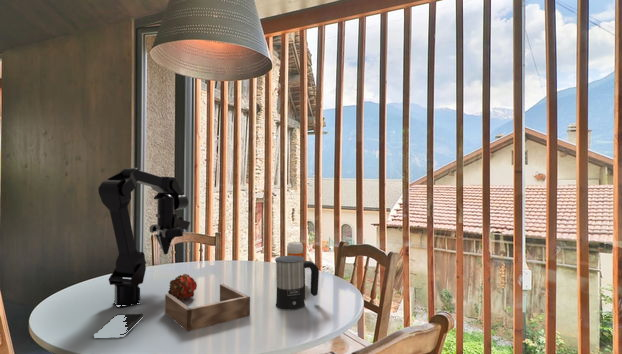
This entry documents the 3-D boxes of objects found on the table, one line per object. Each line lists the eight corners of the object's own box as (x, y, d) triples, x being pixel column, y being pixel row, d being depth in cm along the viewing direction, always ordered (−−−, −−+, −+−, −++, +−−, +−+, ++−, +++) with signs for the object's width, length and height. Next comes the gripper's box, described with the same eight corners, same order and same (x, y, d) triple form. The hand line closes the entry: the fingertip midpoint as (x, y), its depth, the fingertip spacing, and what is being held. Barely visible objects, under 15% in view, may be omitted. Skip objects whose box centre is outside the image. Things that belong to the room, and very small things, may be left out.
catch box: (187, 331, 100) (187, 310, 100) (165, 313, 114) (165, 294, 114) (249, 315, 112) (250, 296, 112) (223, 300, 125) (223, 283, 125)
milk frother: (285, 313, 114) (285, 262, 114) (259, 299, 127) (259, 254, 127) (323, 304, 123) (323, 257, 123) (295, 291, 135) (295, 249, 135)
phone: (91, 336, 95) (116, 314, 110) (91, 340, 95) (116, 318, 110) (124, 334, 96) (144, 313, 111) (124, 339, 96) (144, 317, 111)
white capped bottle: (302, 285, 144) (302, 244, 144) (286, 285, 144) (286, 244, 144) (303, 280, 150) (303, 241, 150) (287, 280, 150) (287, 241, 150)
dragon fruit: (177, 309, 121) (182, 303, 133) (200, 292, 123) (203, 287, 135) (160, 288, 121) (167, 283, 133) (184, 270, 123) (189, 267, 135)
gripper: (197, 211, 139) (197, 255, 139) (178, 208, 154) (178, 248, 154) (165, 213, 132) (165, 259, 132) (149, 209, 147) (149, 251, 147)
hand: (165, 254), depth 141 cm, fingers closed
